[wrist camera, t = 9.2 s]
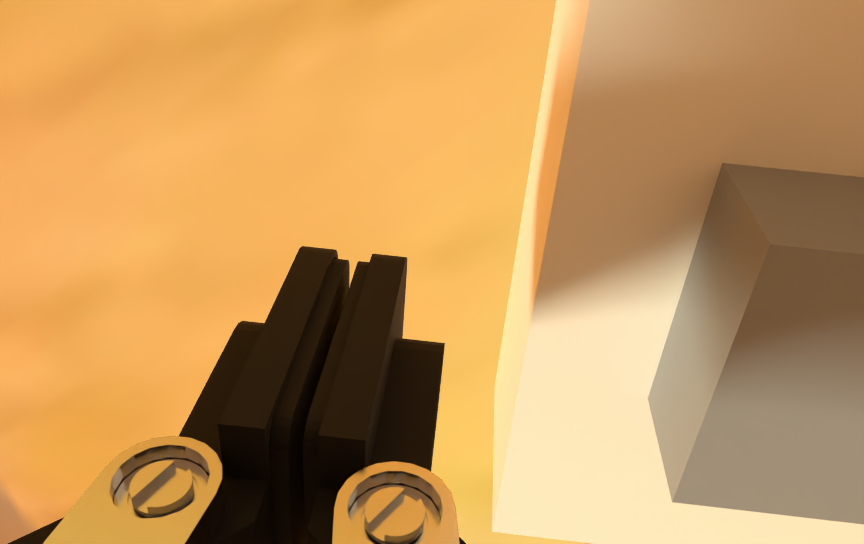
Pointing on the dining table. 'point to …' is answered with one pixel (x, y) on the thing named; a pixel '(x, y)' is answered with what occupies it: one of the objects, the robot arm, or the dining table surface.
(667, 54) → the board
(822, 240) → the slate tile
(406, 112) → the dining table surface
